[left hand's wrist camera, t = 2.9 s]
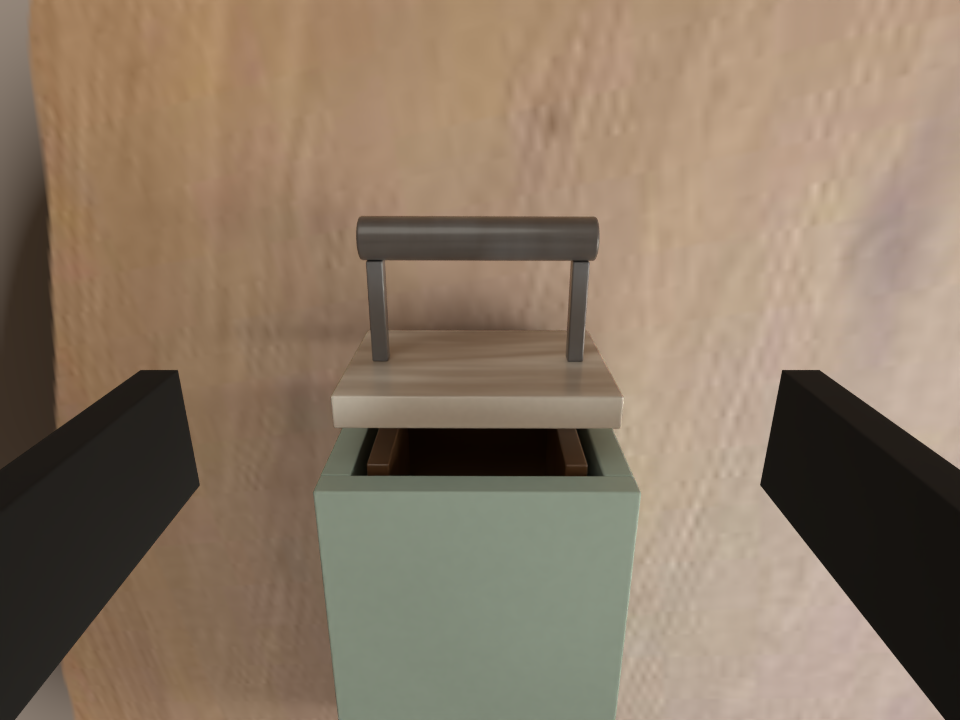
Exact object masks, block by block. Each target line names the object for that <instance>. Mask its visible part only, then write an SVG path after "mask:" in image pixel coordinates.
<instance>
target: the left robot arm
mask: <svg viewBox="0 0 960 720" xmlns="http://www.w3.org/2000/svg"><path fill="white" fill-rule="evenodd" d="M199 485H200V484H199V478H198V473H197V468H196V463H195V458H194V452H193V447H192V442H191V437H190V431H189V426H188V421H187V416H186V411H185V405H184V400H183V395H182V390H181V384H180V379H179V374H178V370H140V371H139V372H137V373H136V374H135V375H133V376H132V377H130V378H129V379H128V380H126V381H125V382H123V383H122V384H120V385H119V386H118V387H116V388H115V389H113V390H112V391H111V392H109V393H108V394H106V395H105V396H104V397H102V398H101V399H99V400H98V401H97V402H95V403H94V404H92V405H91V406H89V407H88V408H87V409H85V410H84V411H82V412H81V413H80V414H78V415H77V416H75V417H74V418H73V419H71V420H70V421H68V422H67V423H65V424H64V425H63V426H61V427H60V428H58V429H57V430H56V431H54V432H53V433H51V434H50V435H49V436H47V437H46V438H44V439H43V440H42V441H40V442H39V443H37V444H36V445H34V446H33V447H32V448H30V449H29V450H28V451H26V452H25V453H23V454H22V455H20V456H19V457H18V458H16V459H15V460H13V461H12V462H11V463H9V464H8V465H6V466H5V467H3V468H2V469H1V470H0V720H15V719H16V718H17V716H18V715H19V714H20V713H21V711H22V710H23V709H24V707H25V706H26V705H27V704H28V702H29V701H30V700H31V699H32V697H33V696H34V695H35V694H36V692H37V691H38V690H39V688H40V687H41V686H42V685H43V683H44V682H45V681H46V679H47V678H48V677H49V676H50V675H51V673H52V672H53V671H54V669H55V668H56V667H57V666H58V664H59V663H60V662H61V661H62V659H63V658H64V657H65V655H66V654H67V653H68V652H69V650H70V649H71V648H72V647H73V645H74V644H75V643H76V642H77V640H78V639H79V638H80V636H81V635H82V634H83V633H84V631H85V630H86V629H87V628H88V626H89V625H90V624H91V622H92V621H93V620H94V619H95V617H96V616H97V615H98V614H99V612H100V611H101V610H102V609H103V607H104V606H105V605H106V603H107V602H108V601H109V600H110V598H111V597H112V596H113V595H114V593H115V592H116V591H117V589H118V588H119V587H120V586H121V584H122V583H123V582H124V581H125V579H126V578H127V577H128V576H129V574H130V573H131V572H132V570H133V569H134V568H135V567H136V565H137V564H138V563H139V562H140V560H141V559H142V558H143V556H144V555H145V554H146V553H147V551H148V550H149V549H150V548H151V546H152V545H153V544H154V543H155V541H156V540H157V539H158V537H159V536H160V535H161V534H162V532H163V531H164V530H165V529H166V527H167V526H168V525H169V523H170V522H171V521H172V520H173V518H174V517H175V516H176V515H177V513H178V512H179V511H180V510H181V508H182V507H183V506H184V504H185V503H186V502H187V501H188V499H189V498H190V497H191V496H192V494H193V493H194V492H195V490H196V489H197V488H198V487H199ZM760 485H761V487H762V488H763V489H764V490H765V492H766V493H767V494H768V496H769V497H770V498H771V499H772V501H773V502H774V503H775V504H776V506H777V507H778V508H779V510H780V511H781V512H782V513H783V515H784V516H785V517H786V518H787V520H788V521H789V522H790V523H791V525H792V526H793V527H794V529H795V530H796V531H797V532H798V534H799V535H800V536H801V537H802V539H803V540H804V541H805V543H806V544H807V545H808V546H809V548H810V549H811V550H812V551H813V553H814V554H815V555H816V556H817V558H818V559H819V560H820V562H821V563H822V564H823V565H824V567H825V568H826V569H827V570H828V572H829V573H830V574H831V576H832V577H833V578H834V579H835V581H836V582H837V583H838V584H839V586H840V587H841V588H842V589H843V591H844V592H845V593H846V595H847V596H848V597H849V598H850V600H851V601H852V602H853V603H854V605H855V606H856V607H857V608H858V610H859V611H860V612H861V614H862V615H863V616H864V617H865V619H866V620H867V621H868V622H869V624H870V625H871V626H872V628H873V629H874V630H875V631H876V633H877V634H878V635H879V636H880V638H881V639H882V640H883V641H884V643H885V644H886V645H887V647H888V648H889V649H890V650H891V652H892V653H893V654H894V655H895V657H896V658H897V659H898V661H899V662H900V663H901V664H902V666H903V667H904V668H905V669H906V671H907V672H908V673H909V674H910V676H911V677H912V678H913V680H914V681H915V682H916V683H917V685H918V686H919V687H920V688H921V690H922V691H923V692H924V694H925V695H926V696H927V697H928V699H929V700H930V701H931V702H932V704H933V705H934V706H935V707H936V709H937V710H938V711H939V713H940V714H941V715H942V716H943V718H944V719H945V720H960V470H959V469H958V468H957V467H955V466H954V465H952V464H951V463H950V462H948V461H947V460H945V459H944V458H942V457H941V456H940V455H938V454H937V453H935V452H934V451H933V450H931V449H930V448H928V447H927V446H926V445H924V444H923V443H921V442H920V441H918V440H917V439H916V438H914V437H913V436H911V435H910V434H909V433H907V432H906V431H904V430H903V429H902V428H900V427H899V426H897V425H896V424H895V423H893V422H892V421H890V420H889V419H887V418H886V417H885V416H883V415H882V414H880V413H879V412H878V411H876V410H875V409H873V408H872V407H871V406H869V405H868V404H866V403H865V402H864V401H862V400H861V399H859V398H858V397H856V396H855V395H854V394H852V393H851V392H849V391H848V390H847V389H845V388H844V387H842V386H841V385H840V384H838V383H837V382H835V381H834V380H833V379H831V378H830V377H828V376H827V375H825V374H824V373H823V372H821V371H820V370H782V374H781V379H780V385H779V390H778V395H777V400H776V405H775V411H774V416H773V421H772V426H771V432H770V437H769V442H768V447H767V452H766V458H765V463H764V468H763V473H762V478H761V484H760Z"/></svg>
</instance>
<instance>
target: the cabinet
mask: <svg viewBox="0 0 960 720" xmlns="http://www.w3.org/2000/svg"><path fill="white" fill-rule="evenodd" d="M378 430H379V428H342V430H341V433H340V435H339V437H338V439H337V441H336V443H335V445H334V448H333V450H332V452H331V454H330V456H329V458H328V461H327V463H326V465H325V467H324V469H323V471H322V474H321V477H320V479H319V481H318V483H317V485H316V487H315V489H314V492H313V495H314V504H315V513H316V522H317V531H318V540H319V549H320V558H321V567H322V576H323V585H324V594H325V603H326V612H327V621H328V630H329V639H330V648H331V657H332V666H333V675H334V684H335V693H336V702H337V711H338V720H615V718H616V709H617V701H618V692H619V683H620V674H621V665H622V656H623V648H624V639H625V630H626V621H627V612H628V603H629V595H630V586H631V577H632V568H633V559H634V550H635V542H636V533H637V524H638V515H639V506H640V497H641V492H640V490H639V488H638V485H637V483H636V481H635V478H634V477H633V474H632V472H631V470H630V468H629V465H628V463H627V461H626V459H625V456H624V454H623V452H622V450H621V447H620V445H619V443H618V440H617V438H616V436H615V434H614V431H613V429H576V430H577V434H578V437H579V440H580V443H581V446H582V449H583V452H584V455H585V459H586V462H587V465H588V470H587V476H367V463H368V460H369V457H370V454H371V451H372V448H373V445H374V442H375V439H376V436H377V433H378Z"/></svg>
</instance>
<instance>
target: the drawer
mask: <svg viewBox="0 0 960 720" xmlns="http://www.w3.org/2000/svg"><path fill="white" fill-rule="evenodd" d="M356 241H357V250H358V254H359V257H360V259H362V260H367V262H366V270H367V285H368V301H369V316H370V330H368V331H367V333H366V335H365V337H364V339H363V340H362V342H361V344H360V346H359V348H358V349H357V351H356V353H355V355H354V356H353V358H352V360H351V362H350V364H349V365H348V367H347V369H346V371H345V372H344V374H343V376H342V378H341V380H340V381H339V383H338V385H337V387H336V389H335V390H334V392H333V394H332V396H331V406H332V417H333V426H334V428H379V430H378V433H377V436H376V439H375V442H374V445H373V448H372V451H371V454H370V457H369V460H368V463H367V476H587V470H588V465H587V462H586V459H585V455H584V452H583V449H582V446H581V443H580V440H579V437H578V434H577V430H576V429H619V428H621V424H622V413H623V403H624V397H623V395H622V393H621V391H620V390H619V388H618V386H617V384H616V382H615V380H614V378H613V377H612V375H611V373H610V371H609V369H608V367H607V365H606V364H605V362H604V360H603V358H602V356H601V354H600V352H599V350H598V349H597V347H596V345H595V343H594V341H593V339H592V337H591V336H590V334H589V332H588V331H585V324H586V309H587V295H588V280H589V265H590V263H589V261H593V260H595V259H596V256H597V253H598V248H599V224H598V220H597V218H596V217H489V216H361V217H359V219H358V222H357V228H356ZM385 260H480V261H571V269H570V287H569V305H568V322H567V331H528V330H389V329H388V311H387V292H386V274H385Z"/></svg>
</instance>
